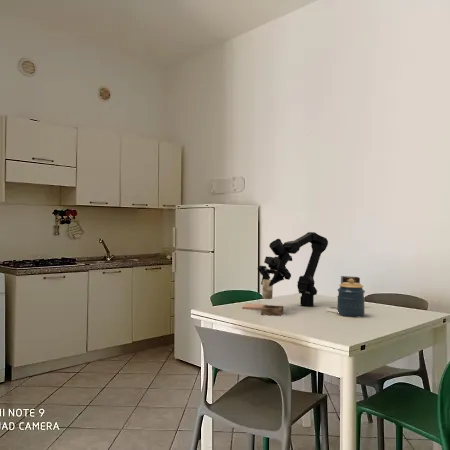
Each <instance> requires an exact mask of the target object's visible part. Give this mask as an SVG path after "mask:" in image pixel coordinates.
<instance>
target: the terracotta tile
mask: <svg viewBox="0 0 450 450" xmlns="http://www.w3.org/2000/svg"><path fill="white" fill-rule="evenodd" d="M264 305H267V303H266V304H265V303H245V304H244V305H242V307H241V309H242V310H254V311H256V310H257V311H261V308H262V307H263V306H264Z"/></svg>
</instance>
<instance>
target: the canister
mask: <svg viewBox="0 0 450 450" xmlns="http://www.w3.org/2000/svg"><path fill="white" fill-rule="evenodd" d="M363 288H364V285H362V284H361V283H354V280H353V279H349V282H343V283H342V284H341V283H340V284H339V288H338V289H337V291H338V295H337V296H336V297H337V308H336V309H337V310H338V312H339V314H340V316H342V315H344V316H343V317H348V316H353V317H352V318H355V317H356V318H358V317H357V316H361V317H364V316H365V313H366V311H365V299H366V298H365V293H366V290H364V289H363ZM337 310H336V311H337ZM338 312H337V313H338ZM339 314H338V315H339ZM363 315H364V316H363Z"/></svg>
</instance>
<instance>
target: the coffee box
mask: <svg viewBox="0 0 450 450" xmlns="http://www.w3.org/2000/svg"><path fill="white" fill-rule="evenodd" d="M349 279H353V280H354V283H360V282H361V281H360V280H361V278H360V277H358V276H347V275H346V276H344V275H341V276H340V284H342V283H343V282H349ZM360 284H361V283H360Z"/></svg>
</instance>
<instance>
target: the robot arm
mask: <svg viewBox="0 0 450 450" xmlns="http://www.w3.org/2000/svg"><path fill="white" fill-rule="evenodd" d="M308 243H310V244H311V246H310V247H311V254H310V256H309V257H310V258H309V260H308V263H307V266H306V269H305V271H304V274H303V275H300V276H299V278H298V281H297V284H296V285H297V286H296V287H297V291H298V294H301V296H300V302H299V303H300V306H301V307H314V305H315V303H314V301H315V300H314V299H315V298H314V296H315V295H316V296H317V294H318V289H317V288H316V286H315V279H314V277H315V273H316V270H317V268H318V266H319V262H320V258H321V255H322V253H323V252H325V251H326V250H327V247H328V246H329V245H328V244H329V240H328V239H327V238H326V237H325V236H322V235H320V234H318V233H317V232H313V231H308V232H307V233H305V234H304V235H302V236H299V237H298V238H297V239H294V240H289V241H285V242H282V240H281V239H280V238H276V239H274V240H273V241H271V242H270V243H269V246H268V247H269V248H270V250H271V251H272V252H273V254H274V255H275V256H265V257H264V258H265V259H264V261H263V263H264V264H267V265H268V266H266V265H258V267H257V271H258V272H259V274H260V275H261V276H262V278H261V282H260V284H261V285H262V284H263V280H264V279H269V280H271V282H270V283H269V286H272V285H273V286H274V285H275V284H278V283H280V282H281V281H284V280H287V281H288V280H290V279H291V278H292V273H291V272H290V271H289V269H288V268H287V267H286V265H287V264H288V262H292V261H293V256H292V254H293V255H296V254H297V253H298V252H299V251H300V249H301V248H302V247H303V246H305V245H306V244H308ZM290 254H291V255H290ZM270 274H271V275H273V277H272V278H271V276H270Z"/></svg>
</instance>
